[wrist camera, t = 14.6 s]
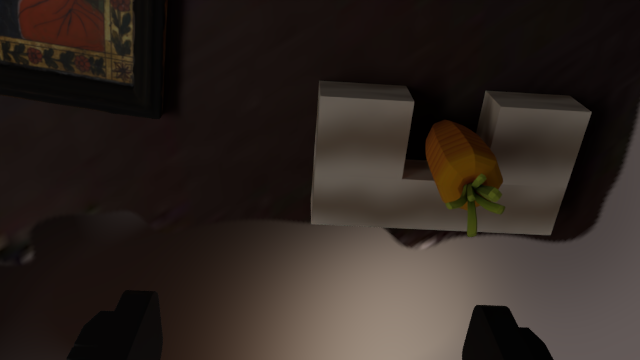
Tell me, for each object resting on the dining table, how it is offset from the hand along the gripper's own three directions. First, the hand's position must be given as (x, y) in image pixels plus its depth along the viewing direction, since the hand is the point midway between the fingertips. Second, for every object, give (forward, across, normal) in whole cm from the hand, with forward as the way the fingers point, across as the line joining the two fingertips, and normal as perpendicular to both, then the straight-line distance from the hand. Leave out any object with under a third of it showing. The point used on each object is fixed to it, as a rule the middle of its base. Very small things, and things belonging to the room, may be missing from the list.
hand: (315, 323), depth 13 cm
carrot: (+33, -12, +8) cm, 36 cm away
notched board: (+33, -12, +10) cm, 37 cm away
